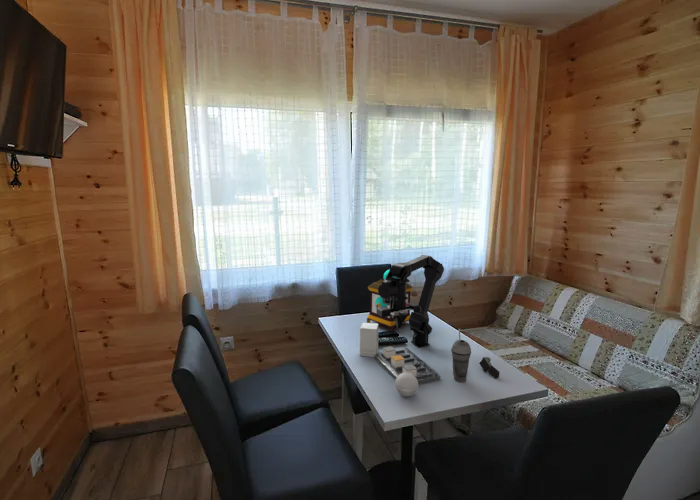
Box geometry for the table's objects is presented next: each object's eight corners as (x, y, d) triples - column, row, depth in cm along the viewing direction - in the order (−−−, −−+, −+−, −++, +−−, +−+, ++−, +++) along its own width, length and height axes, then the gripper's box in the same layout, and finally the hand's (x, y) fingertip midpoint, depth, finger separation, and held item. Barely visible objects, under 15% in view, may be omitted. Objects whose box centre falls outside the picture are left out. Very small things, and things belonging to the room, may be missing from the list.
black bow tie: (496, 381, 142) (503, 373, 138) (491, 382, 141) (498, 375, 137) (483, 362, 148) (489, 354, 144) (478, 363, 147) (484, 355, 143)
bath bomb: (404, 386, 134) (405, 365, 133) (422, 395, 128) (423, 373, 127) (390, 394, 129) (390, 373, 127) (408, 404, 123) (408, 382, 121)
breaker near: (411, 372, 140) (411, 364, 140) (416, 376, 137) (416, 368, 136) (402, 374, 139) (402, 365, 138) (407, 378, 136) (407, 370, 135)
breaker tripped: (399, 362, 148) (400, 354, 147) (404, 366, 145) (404, 358, 144) (391, 364, 147) (391, 356, 146) (395, 368, 143) (395, 360, 143)
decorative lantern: (363, 323, 196) (363, 269, 191) (387, 315, 209) (388, 263, 204) (391, 334, 181) (392, 275, 176) (416, 324, 194) (417, 269, 189)
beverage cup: (466, 386, 133) (469, 334, 130) (447, 381, 137) (449, 330, 134) (471, 377, 140) (474, 328, 136) (452, 372, 143) (455, 324, 140)
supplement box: (376, 357, 157) (376, 329, 155) (359, 355, 158) (359, 328, 156) (378, 350, 164) (378, 323, 162) (362, 348, 165) (362, 322, 163)
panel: (407, 352, 161) (407, 347, 161) (440, 379, 138) (440, 373, 138) (374, 358, 156) (374, 352, 155) (402, 387, 133) (402, 381, 132)
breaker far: (391, 353, 156) (391, 346, 155) (395, 357, 153) (395, 349, 152) (383, 355, 155) (383, 347, 154) (386, 359, 151) (386, 351, 151)
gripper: (409, 286, 165) (408, 319, 168) (371, 290, 159) (371, 325, 161) (422, 293, 155) (421, 328, 158) (382, 297, 148) (382, 334, 151)
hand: (398, 328), depth 157 cm, fingers closed
